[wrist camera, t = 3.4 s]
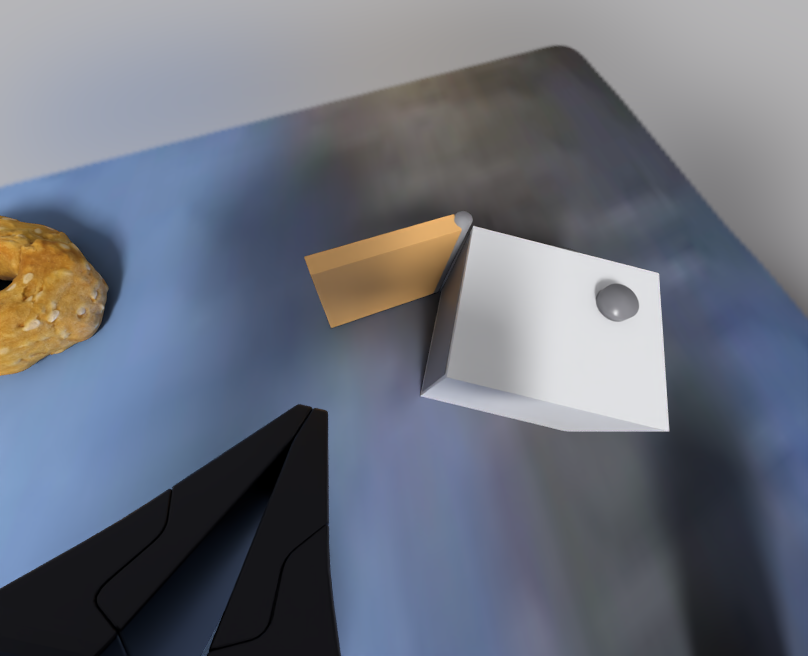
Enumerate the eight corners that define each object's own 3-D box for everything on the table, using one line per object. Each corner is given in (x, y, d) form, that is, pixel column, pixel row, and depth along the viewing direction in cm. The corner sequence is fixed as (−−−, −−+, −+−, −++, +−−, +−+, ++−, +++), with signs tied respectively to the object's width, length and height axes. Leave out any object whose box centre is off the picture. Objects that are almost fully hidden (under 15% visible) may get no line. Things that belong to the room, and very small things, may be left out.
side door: (331, 328, 21) (310, 273, 14) (325, 312, 21) (301, 249, 14) (442, 291, 23) (475, 224, 15) (435, 276, 23) (464, 203, 16)
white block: (566, 431, 20) (680, 431, 13) (419, 395, 20) (448, 374, 13) (571, 305, 24) (665, 245, 16) (444, 273, 23) (479, 197, 16)
